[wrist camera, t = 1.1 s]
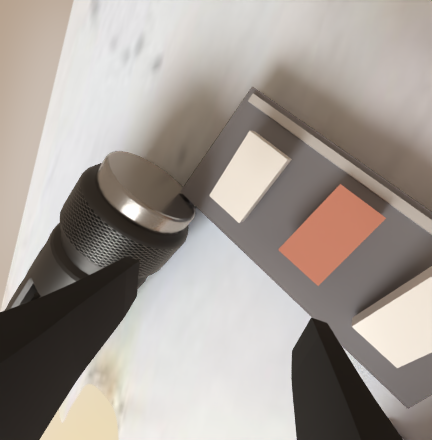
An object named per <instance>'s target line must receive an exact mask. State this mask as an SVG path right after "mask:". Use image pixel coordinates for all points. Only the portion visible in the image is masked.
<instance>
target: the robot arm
mask: <svg viewBox="0 0 432 440" xmlns="http://www.w3.org/2000/svg"><path fill="white" fill-rule="evenodd" d="M139 265H140V261H139V260H136V259H133V258H130V257H127V256H126V257H124V258H122V259H120V260H118V261H116V262H114V263H112V264H110V265H108V266H106V267H104V268H102V269H100V270H98V271H96V272H94V273H92V274H90V275H88V276H86V277H84V278H82V279H80V280H78V281H76V282H74V283H72V284H70V285H67V286H65V287H63V288H61V289H58V290H56V291H54V292H52V293H49V294H47V295H45V296H42V297H40V298H38V299H35V300H32V301H30V302H27V303H25V304H22V305H19V306H17V307H14V308H11V309H8V310H6V311H3V312H0V440H39V439H40V438H41V436H42V435H43V433H44V431H45V430H46V428H47V427H48V425H49V423H50V421H51V420H52V418H53V417H54V415H55V414H56V412H57V410H58V409H59V407H60V406H61V404H62V403H63V401H64V400H65V398H66V396H67V395H68V393H69V392H70V390H71V389H72V387H73V386H74V384H75V382H76V381H77V379H78V378H79V377H80V375H81V374H82V372H83V371H84V370H85V368H86V367H87V366H88V364H89V363H90V362H91V360H92V359H93V358H94V357H95V355H96V354H97V353H98V351H99V350H100V349H101V347H102V346H103V345H104V343H105V342H106V341H107V340H108V338H109V337H110V336H111V334H112V333H113V332H114V330H115V329H116V328H117V326H118V325H119V324H120V322H121V321H122V320H123V318H124V317H125V315H126V314H127V312H128V310H129V309H130V307H131V305H132V303H133V302H134V300H135V298H136V297H137V287H138V276H139ZM292 391H293V402H294V413H295V424H296V435H297V440H404V439H403V438H402V437H401V436H400V435H399V433H398V432H397V430H396V429H395V428H394V426H393V425H392V423H391V422H390V420H389V419H388V418H387V416H386V415H385V413H384V412H383V410H382V409H381V407H380V406H379V404H378V403H377V402H376V400H375V399H374V397H373V395H372V394H371V392H370V391H369V389H368V388H367V386H366V385H365V383H364V382H363V380H362V379H361V377H360V375H359V374H358V372H357V371H356V369H355V367H354V366H353V364H352V363H351V361H350V359H349V358H348V356H347V354H346V353H345V351H344V349H343V348H342V346H341V344H340V343H339V341H338V339H337V338H336V336H335V334H334V333H333V331H332V330H331V328H330V326H329V325H328V323H326V322H323V321H320V320H317V319H314V318H311V319H310V321H309V323H308V324H307V326H306V328H305V329H304V331H303V333H302V335H301V336H300V338H299V340H298V341H297V343H296V345H295V347H294V348H293V350H292Z"/></svg>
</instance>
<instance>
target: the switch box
mask: <svg viewBox="0 0 432 440" xmlns="http://www.w3.org/2000/svg"><path fill="white" fill-rule="evenodd" d="M249 131H254V132H256V133H258V134H259V135H260V136H262V137H263V138H264V139H266V140H267V141H268V142H270V143H271V144H272V145H274V146H275V147H276V148H277V149H279V150H280V151H281V152H283V153H284V154H285V155H287V156H288V157H289V158H291V159H292V160H291V161H290V162H289V164H288V165H287V166H286V168H285V169H284V170H283V171H282V173H281V174H280V175H279V177H278V178H277V179H276V180H275V182H274V183H273V184H272V186H271V187H270V188H269V190H268V191H267V192H266V193H265V195H264V196H263V197H262V199H261V200H260V201H259V202H258V204H257V205H256V206H255V208H254V209H253V210H252V212H251V213H250V214H249V215H248V217H247V218H246V219H245V220H244V221H242V222H241V223H238V222H237V221H236V220H235V219H234V218H233V217H232V216H231V215H230V214H228V213H227V212H226V211H225V210H224V209H223V208H222V207H221V206H220V205H219V204H218V203H216V202H215V201H214V200H213V199H212V198H211V197H210V196H209V195H210V193H211V192H212V190H213V189H214V187H215V185H216V184H217V182H218V181H219V179H220V177H221V176H222V174H223V173H224V171H225V169H226V168H227V166H228V165H229V163H230V161H231V160H232V158H233V156H234V155H235V153H236V152H237V150H238V148H239V147H240V145H241V144H242V142H243V140H244V139H245V137H246V136H247V134H248V132H249ZM340 184H341V185H342V186H344V187H345V188H346V189H348V190H349V191H350V192H352V193H353V194H354V195H356V196H357V197H358V198H360V199H361V200H362V201H364V202H365V203H367V204H368V205H369V206H371V207H372V208H373V209H375V210H376V211H377V212H379V213H380V214H381V215H383V216H384V217H385V218H386V219H385V220H384V221H383V222H382V223H381V224H380V225H379V226H378V227H377V228H376V229H375V230H374V231H373V232H372V233H371V234H370V235H369V236H368V237H367V238H366V239H365V240H364V241H363V242H362V243H361V244H360V245H359V246H358V247H357V248H356V249H355V250H354V251H353V252H352V253H351V254H350V255H349V256H348V257H347V258H346V259H345V260H344V261H343V262H342V263H341V264H340V265H339V266H338V267H337V268H336V269H335V270H334V271H333V272H332V273H331V274H330V275H329V276H328V277H327V278H326V279H325V280H324V281H323V282H322V283H321V284H320V285H319V286H317V285H316V284H315V283H314V282H313V281H312V280H311V279H310V278H309V277H308V276H306V275H305V274H304V273H303V272H302V271H301V270H300V269H299V268H298V267H296V266H295V265H294V264H293V263H292V262H291V261H290V260H289V259H288V258H287V257H285V256H284V255H283V254H282V253H281V252H280V251H279V250H278V249H279V248H280V247H281V246H282V245H283V244H284V243H285V242H286V241H287V240H288V239H289V237H290V236H291V235H292V234H293V233H294V232H295V231H296V230H297V229H298V228H299V227H300V226H301V225H302V224H303V223H304V222H305V221H306V220H307V218H308V217H309V216H310V215H311V214H312V213H313V212H314V211H315V210H316V209H317V208H318V207H319V206H320V205H321V204H322V203H323V202H324V201H325V200H326V198H327V197H328V196H329V195H330V194H331V193H332V192H333V191H334V190H335V189H336V188H337V187H338V186H339V185H340ZM180 192H181V193H182V194H183V195H184V196H185V197H187V198H188V199H189V200H190V201H191V202H192V203H193V204H194V205H195V206H196V207H197V208H198V209H199V210H200V211H201V212H202V213H203V214H204V215H205V216H206V217H207V218H209V219H210V220H211V221H212V222H213V223H214V224H215V225H216V226H217V227H218V228H219V229H220V230H221V231H222V232H223V233H224V234H225V235H226V236H227V237H228V238H229V239H231V240H232V241H233V242H234V243H235V244H236V245H237V246H238V247H239V248H240V249H241V250H242V251H243V252H244V253H245V254H246V255H247V256H248V257H249V258H250V259H251V260H253V261H254V262H255V263H256V264H257V265H258V266H259V267H260V268H261V269H262V270H263V271H264V272H265V273H266V274H267V275H268V276H269V277H270V278H271V279H272V280H273V281H275V282H276V283H277V284H278V285H279V286H280V287H281V288H282V289H283V290H284V291H285V292H286V293H287V294H288V295H289V296H290V297H291V298H292V299H293V300H294V301H295V302H297V303H298V304H299V305H300V306H301V307H302V308H303V309H304V310H305V311H306V312H307V313H308V314H309V315H310V316H311V317H312V318H314V319H317V320H320V321H323V322H326V323H328V325H329V326H330V328H331V330H332V331H333V333H334V334H335V336H336V338H337V339H338V341H339V343H340V344H341V345H342V346H343V347H344V348H345V349H346V350H347V351H348V352H349V353H350V354H351V355H352V356H353V357H354V358H355V359H356V360H357V361H358V362H359V363H360V364H362V365H363V366H364V367H365V368H366V369H367V370H368V371H369V372H370V373H371V374H372V375H373V376H374V377H375V378H376V379H377V380H378V381H379V382H380V383H381V384H382V385H384V386H385V387H386V388H387V389H388V390H389V391H390V392H391V393H392V394H393V395H394V396H395V397H396V398H397V399H398V400H399V401H400V402H401V403H402V404H403V405H404V406H406V407H407V408H410V407H412V406H413V405H415V404H417V403H418V402H420V401H422V400H424V399H425V398H427V397H429V396H431V395H432V353H430V354H427V355H425V356H423V357H421V358H419V359H416V360H414V361H412V362H410V363H408V364H405V365H403V366H401V367H399V368H396V367H395V366H394V365H393V364H392V363H391V362H390V361H389V360H388V359H386V358H385V357H384V356H383V355H382V354H381V353H380V352H379V351H378V350H377V349H376V348H374V347H373V346H372V345H371V344H370V343H369V342H368V341H367V340H366V339H365V338H364V337H362V336H361V335H360V334H359V333H358V332H357V331H356V330H355V329H354V328H353V327H352V318H353V317H354V316H356V315H357V314H359V313H360V312H362V311H363V310H365V309H366V308H368V307H370V306H371V305H373V304H374V303H376V302H377V301H379V300H380V299H382V298H383V297H385V296H386V295H388V294H390V293H391V292H393V291H394V290H396V289H397V288H399V287H400V286H402V285H403V284H405V283H406V282H408V281H410V280H411V279H413V278H414V277H416V276H417V275H419V274H420V273H422V272H423V271H425V270H426V269H428V268H429V267H431V266H432V212H431V211H430V210H428V209H427V208H425V207H424V206H423V205H421V204H420V203H418V202H417V201H415V200H414V199H413V198H411V197H410V196H408V195H407V194H405V193H404V192H403V191H401V190H400V189H398V188H397V187H395V186H394V185H393V184H391V183H390V182H388V181H387V180H385V179H384V178H383V177H381V176H380V175H378V174H377V173H375V172H374V171H373V170H371V169H370V168H368V167H367V166H365V165H364V164H363V163H361V162H360V161H358V160H357V159H355V158H354V157H353V156H351V155H350V154H348V153H347V152H345V151H344V150H343V149H341V148H340V147H338V146H337V145H335V144H334V143H333V142H331V141H330V140H328V139H327V138H325V137H324V136H322V135H321V134H320V133H318V132H317V131H315V130H314V129H312V128H311V127H310V126H308V125H307V124H305V123H304V122H302V121H301V120H300V119H298V118H297V117H295V116H294V115H292V114H291V113H290V112H288V111H287V110H285V109H284V108H282V107H281V106H280V105H278V104H277V103H275V102H274V101H272V100H271V99H270V98H268V97H267V96H265V95H264V94H262V93H261V92H260V91H258V90H257V89H255V88H254V87H252V88H251V89H250V91H249V92H248V94H247V95H246V97H245V98H244V99H243V101H242V102H241V104H240V105H239V107H238V108H237V110H236V111H235V113H234V114H233V115H232V117H231V118H230V120H229V121H228V123H227V124H226V126H225V127H224V129H223V130H222V131H221V133H220V134H219V136H218V137H217V139H216V140H215V142H214V143H213V145H212V146H211V147H210V149H209V150H208V152H207V153H206V155H205V156H204V158H203V159H202V161H201V162H200V163H199V165H198V166H197V168H196V169H195V171H194V172H193V174H192V175H191V177H190V178H189V179H188V181H187V182H186V184H185V185H184V187H183V188H182V190H181V191H180Z"/></svg>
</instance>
